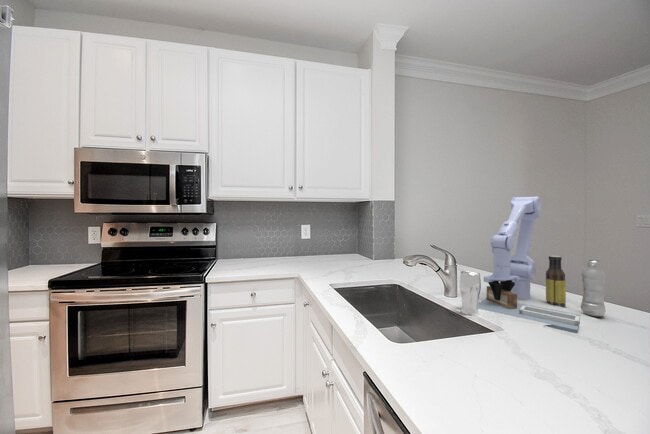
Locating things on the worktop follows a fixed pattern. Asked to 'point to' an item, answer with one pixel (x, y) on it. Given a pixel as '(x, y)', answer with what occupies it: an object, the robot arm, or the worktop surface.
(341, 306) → the worktop surface
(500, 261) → the robot arm
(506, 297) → the wooden block
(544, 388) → the worktop surface
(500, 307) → the wall board
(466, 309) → the beer glass
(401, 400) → the worktop surface
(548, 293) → the brown medicine bottle
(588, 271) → the plastic bottle
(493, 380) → the worktop surface
